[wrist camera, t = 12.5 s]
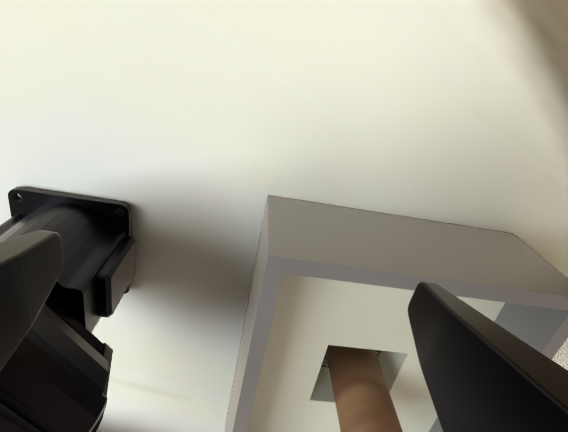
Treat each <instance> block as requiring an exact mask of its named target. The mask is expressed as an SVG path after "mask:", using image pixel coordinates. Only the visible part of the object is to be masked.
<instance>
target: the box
mask: <svg viewBox="0 0 568 432" xmlns="http://www.w3.org/2000/svg"><path fill="white" fill-rule="evenodd" d="M422 281H425V282H433V283H436V284H438V285H440V286H441V287H443V288H444V289H446V290H447V291H449V292H450V293H452V294H453V295H455V296H456V297H458V298H459V299H461V300H462V301H464V302H465V303H467V304H468V305H470V306H471V307H473V308H474V309H476V310H477V311H479V312H480V313H482V314H483V315H485V316H486V317H488V318H489V319H491V320H492V321H494V322H495V323H497V324H498V325H500V326H501V327H503V328H504V329H506V330H507V331H509V332H510V333H512V334H513V335H515V336H516V337H518V338H519V339H521V340H522V341H524V342H525V343H527V344H528V345H530V346H531V347H533V348H534V349H536V350H537V351H539V352H540V353H542V354H543V355H545V356H546V357H548V358H549V359H552V358H553V357H554V355H555V354H556V352H557V351H558V350H559V348H560V347H561V346H562V344H563V343H564V342H565V340H566V339H567V338H568V278H567V277H565V276H564V275H563V274H562V273H560V272H559V271H558V270H557V269H556V268H554V267H553V266H552V265H551V264H549V263H548V262H547V261H546V260H544V259H543V258H542V257H541V256H540V255H538V254H537V253H536V252H535V251H533V250H532V249H531V248H530V247H529V246H527V245H526V244H525V243H524V242H522V241H521V240H520V239H519V238H517V237H516V236H515V235H514V234H512V233H506V232H500V231H493V230H487V229H481V228H474V227H468V226H462V225H455V224H449V223H443V222H436V221H430V220H423V219H417V218H411V217H404V216H398V215H392V214H385V213H379V212H373V211H366V210H360V209H353V208H347V207H341V206H334V205H328V204H322V203H315V202H309V201H303V200H296V199H290V198H284V197H277V196H271V195H268V197H267V202H266V208H265V213H264V219H263V224H262V229H261V235H260V240H259V246H258V251H257V257H256V262H255V267H254V273H253V278H252V284H251V289H250V295H249V300H248V305H247V311H246V316H245V322H244V327H243V333H242V338H241V343H240V349H239V354H238V360H237V365H236V371H235V376H234V381H233V387H232V392H231V398H230V403H229V409H228V414H227V419H226V425H225V432H341V431H340V425H339V420H338V415H337V409H336V404H335V398H334V393H333V387H332V382H331V377H330V371H329V367H321V365H322V362H323V359H324V356H325V353H326V350H327V347H328V345H334V346H344V347H353V348H362V349H371V350H381V351H380V354H379V356H378V360H379V363H380V366H381V369H382V372H383V375H384V378H385V381H386V384H387V387H388V390H389V393H390V396H391V398H392V401H393V404H394V407H395V410H396V413H397V416H398V419H399V422H400V425H401V428H402V431H403V432H443V430H442V428H441V425H440V422H439V419H438V416H437V413H436V410H435V407H434V405H433V402H432V399H431V396H430V393H429V390H428V387H427V385H426V382H425V379H424V376H423V373H422V370H421V367H420V363H419V359H418V355H417V351H416V347H415V342H414V338H413V334H412V330H411V325H410V321H409V317H408V305H409V302H410V300H411V298H412V296H413V293H414V291H415V289H416V286H417V285H418V283H419V282H422Z"/></svg>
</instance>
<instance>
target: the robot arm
mask: <svg viewBox="0 0 568 432" xmlns="http://www.w3.org/2000/svg"><path fill="white" fill-rule="evenodd" d="M17 194H20V195H21V196H22V198H23V199H22V198H20V197H19V196H18V195H17ZM8 199H9V205H10V210H11V216H12V218H10V219H9V220H7V221H6V222H5V223H3V224H2V225H1V226H0V432H96V431H97V429H98V427H99V425H100V422H101V420H102V418H103V414H104V410H105V408H106V404H107V397H106V396H107V389H108V382H109V375H110V367H111V360H112V353H113V350H112V349H111V348H110V347H109V346H108V345H107V344H106V343H101V342H100V341H99V340H98V339H97V338H96V337H95V336H94V335H93V334H92V331H93V329H94V328H95V326H96V324H97V323H98V321H99V319H100V317H109V316H111V315H112V314H113V313H114V311H115V309H116V307H117V305H118V304H119V302H120V300H121V298H122V296H123V295H124V294H125V293H127V292H128V291H129V290H130V288H131V280H132V278H133V277H134V275H135V273H136V239H135V238H134V237H133V236H131V207H130V206H129V205H128V204H127V203H125V202H121V201H115V200H108V199H101V198H94V197H88V196H81V195H74V194H67V193H61V192H54V191H47V190H40V189H33V188H27V187H16V188H14V189H12V190H10V191H9V193H8ZM118 208H120V209H123V210H124V212H125V213H121V212H119V210H118ZM408 317H409V321H410V325H411V330H412V334H413V338H414V342H415V347H416V351H417V355H418V359H419V363H420V367H421V370H422V373H423V376H424V379H425V382H426V385H427V387H428V390H429V393H430V396H431V399H432V402H433V405H434V407H435V410H436V413H437V416H438V419H439V422H440V425H441V428H442V430H443V432H568V371H567V370H566V369H564V368H563V367H561V366H560V365H558V364H557V363H555V362H554V361H552V360H551V359H549V358H548V357H546V356H545V355H543V354H542V353H540V352H539V351H537V350H536V349H534V348H533V347H531V346H530V345H528V344H527V343H525V342H524V341H522V340H521V339H519V338H518V337H516V336H515V335H513V334H512V333H510V332H509V331H507V330H506V329H504V328H503V327H501V326H500V325H498V324H497V323H495V322H494V321H492V320H491V319H489V318H488V317H486V316H485V315H483V314H482V313H480V312H479V311H477V310H476V309H474V308H473V307H471V306H470V305H468V304H467V303H465V302H464V301H462V300H461V299H459V298H458V297H456V296H455V295H453V294H452V293H450V292H449V291H447V290H446V289H444V288H443V287H441V286H440V285H438V284H436V283H433V282H425V281H422V282H419V283H418V285H417V286H416V289H415V291H414V293H413V296H412V298H411V300H410V302H409V305H408Z"/></svg>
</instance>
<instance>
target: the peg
mask: <svg viewBox="0 0 568 432" xmlns="http://www.w3.org/2000/svg"><path fill="white" fill-rule="evenodd" d="M326 355H327V360H328V366H329V371H330V377H331V382H332V387H333V393H334V398H335V404H336V409H337V415H338V420H339V425H340V431H341V432H403V431H402V428H401V425H400V422H399V419H398V416H397V413H396V410H395V407H394V404H393V401H392V398H391V396H390V393H389V390H388V387H387V384H386V381H385V378H384V375H383V372H382V369H381V366H380V363H379V360H378V357H377V354H376V351H375V350H371V349H362V348H353V347H344V346H334V345H328V347H327V350H326Z"/></svg>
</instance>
